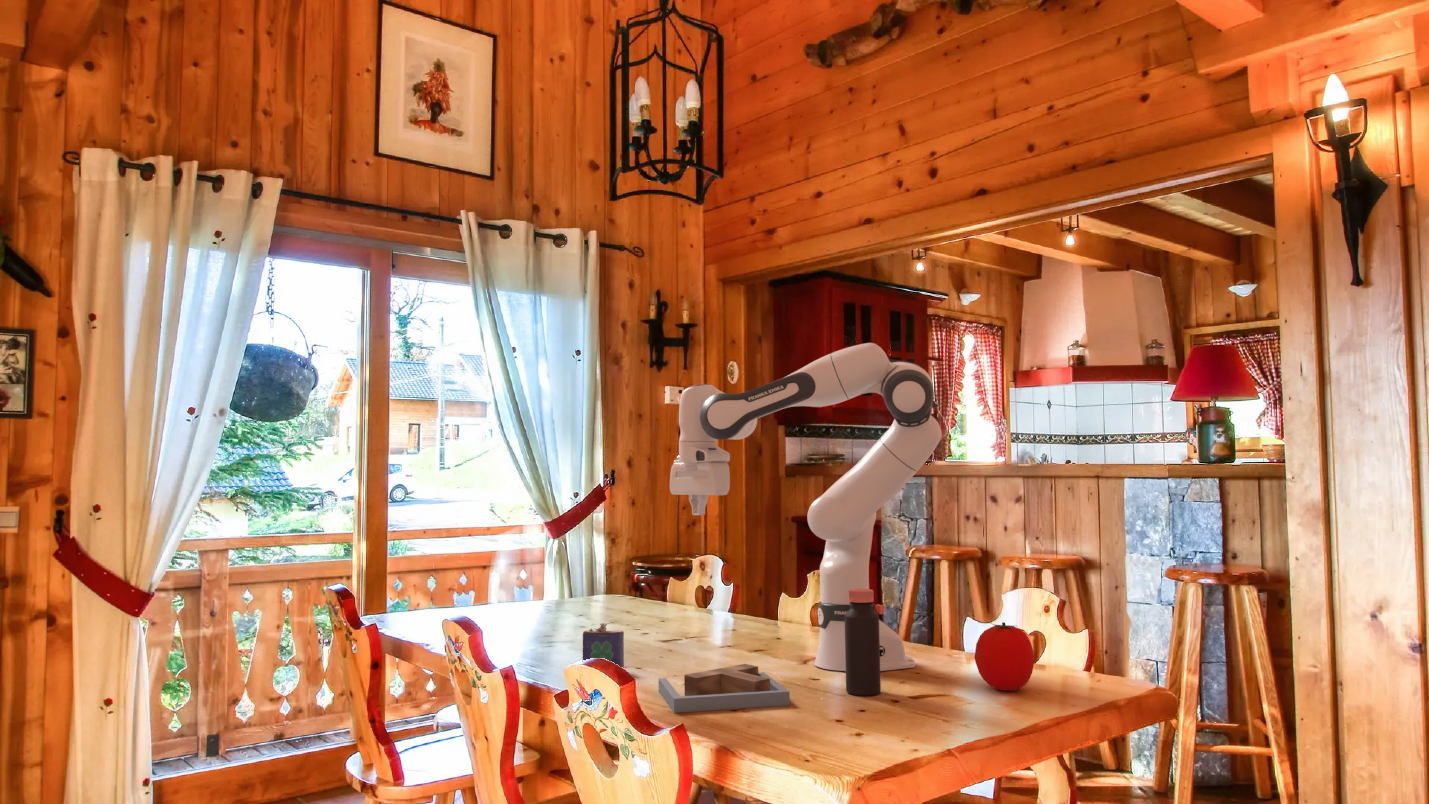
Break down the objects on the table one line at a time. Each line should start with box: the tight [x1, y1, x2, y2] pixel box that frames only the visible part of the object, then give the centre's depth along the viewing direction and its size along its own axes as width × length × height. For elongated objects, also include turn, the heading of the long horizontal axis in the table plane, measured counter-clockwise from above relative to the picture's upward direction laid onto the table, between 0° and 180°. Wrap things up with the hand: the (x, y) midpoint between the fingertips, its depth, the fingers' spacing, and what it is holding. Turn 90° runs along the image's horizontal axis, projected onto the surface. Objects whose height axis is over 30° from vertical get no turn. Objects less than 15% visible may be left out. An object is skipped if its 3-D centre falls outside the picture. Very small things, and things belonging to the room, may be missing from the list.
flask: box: [582, 622, 625, 669], centre depth 208 cm, size 9×3×11 cm, turn 87°
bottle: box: [845, 588, 882, 697], centre depth 186 cm, size 7×7×20 cm
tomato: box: [974, 621, 1035, 692], centre depth 187 cm, size 12×12×13 cm
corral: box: [658, 671, 791, 714], centre depth 182 cm, size 22×18×2 cm
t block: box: [683, 663, 770, 696], centre depth 185 cm, size 16×14×4 cm
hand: (698, 515), depth 215 cm, fingers closed
